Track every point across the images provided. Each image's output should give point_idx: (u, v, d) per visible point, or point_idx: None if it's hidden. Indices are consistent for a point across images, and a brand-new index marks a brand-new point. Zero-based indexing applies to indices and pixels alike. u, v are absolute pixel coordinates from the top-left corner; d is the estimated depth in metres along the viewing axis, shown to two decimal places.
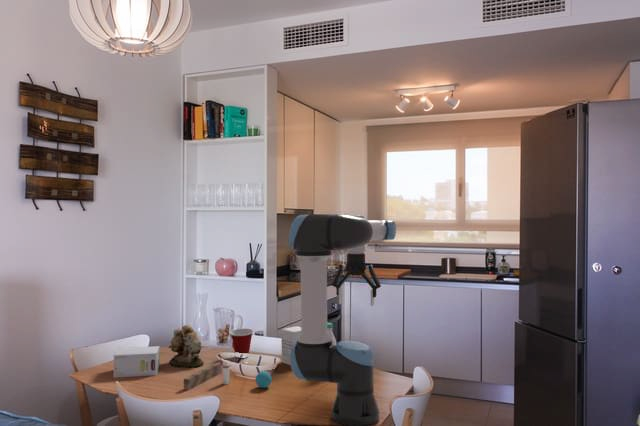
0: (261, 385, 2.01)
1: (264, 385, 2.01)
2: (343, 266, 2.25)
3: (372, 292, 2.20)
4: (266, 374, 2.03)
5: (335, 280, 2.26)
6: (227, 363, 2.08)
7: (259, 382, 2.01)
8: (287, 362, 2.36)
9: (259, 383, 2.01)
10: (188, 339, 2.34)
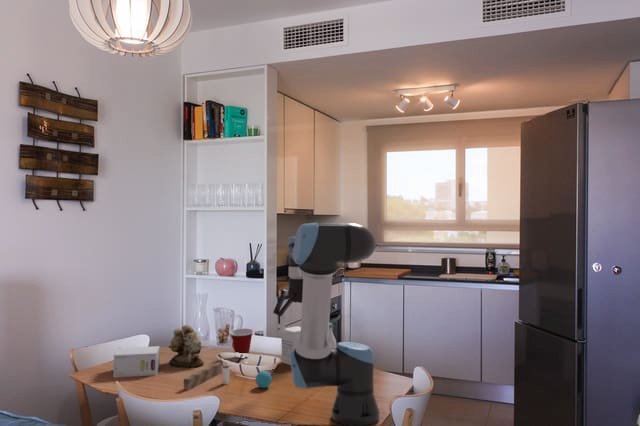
0: (261, 385, 2.01)
1: (264, 385, 2.01)
2: (285, 292, 2.06)
3: None
4: (266, 374, 2.03)
5: (276, 307, 2.07)
6: (227, 363, 2.08)
7: (259, 382, 2.01)
8: (287, 362, 2.36)
9: (259, 383, 2.01)
10: (188, 339, 2.34)
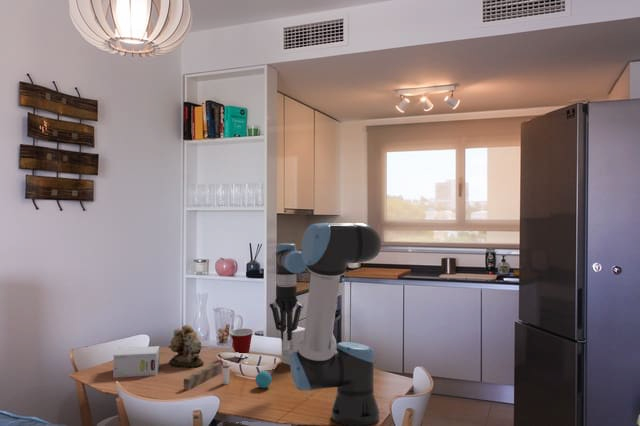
0: (261, 385, 2.01)
1: (264, 385, 2.01)
2: (273, 304, 2.02)
3: (287, 335, 2.00)
4: (266, 374, 2.03)
5: (276, 322, 2.01)
6: (227, 363, 2.08)
7: (259, 382, 2.01)
8: (287, 362, 2.36)
9: (259, 383, 2.01)
10: (188, 339, 2.34)
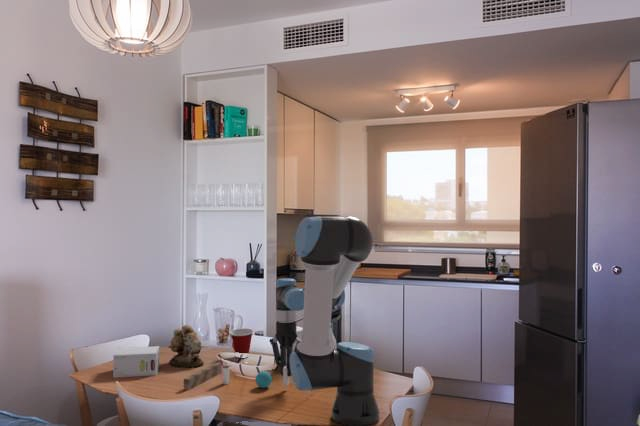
0: (261, 385, 2.01)
1: (264, 385, 2.01)
2: (273, 339, 2.02)
3: (287, 370, 2.00)
4: (266, 374, 2.03)
5: (276, 357, 2.01)
6: (227, 363, 2.08)
7: (259, 382, 2.01)
8: None
9: (259, 383, 2.01)
10: (188, 339, 2.34)
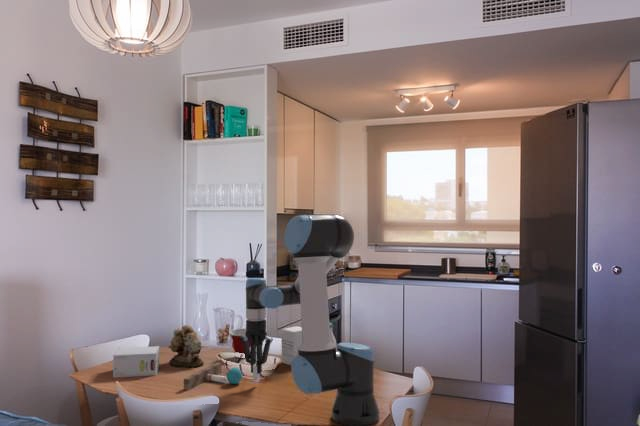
0: (228, 374, 2.07)
1: None
2: (244, 337, 2.06)
3: (256, 368, 2.04)
4: (234, 383, 2.08)
5: (246, 355, 2.05)
6: (208, 374, 2.13)
7: (230, 375, 2.06)
8: (287, 362, 2.36)
9: (230, 375, 2.06)
10: (188, 339, 2.34)
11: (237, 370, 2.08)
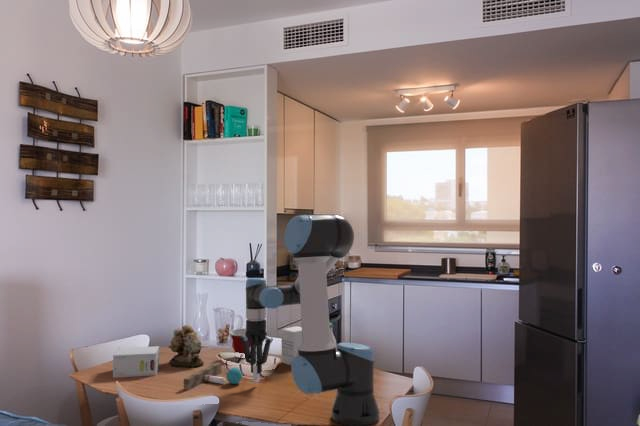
0: (228, 374, 2.07)
1: None
2: (244, 337, 2.06)
3: (256, 368, 2.04)
4: (234, 383, 2.08)
5: (246, 355, 2.05)
6: (205, 378, 2.11)
7: (230, 375, 2.06)
8: (287, 362, 2.36)
9: (230, 375, 2.06)
10: (188, 339, 2.34)
11: (237, 370, 2.08)
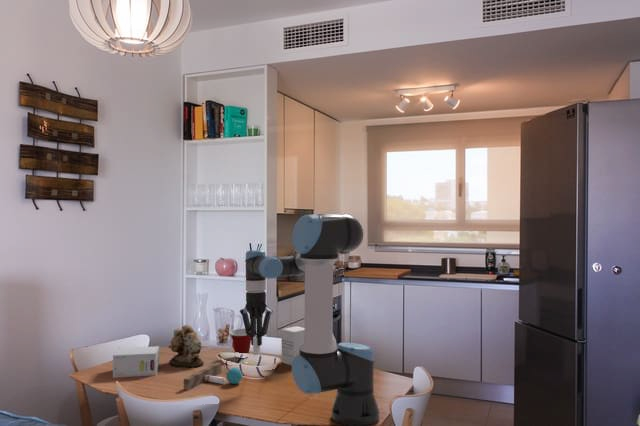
0: (228, 374, 2.07)
1: None
2: (244, 310, 2.06)
3: (256, 340, 2.04)
4: (234, 383, 2.08)
5: (246, 327, 2.05)
6: (205, 378, 2.11)
7: (230, 375, 2.06)
8: (287, 362, 2.36)
9: (230, 375, 2.06)
10: (188, 339, 2.34)
11: (237, 370, 2.08)
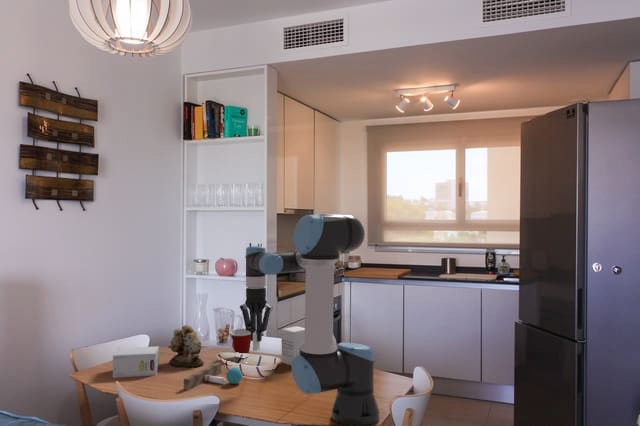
0: (228, 374, 2.07)
1: None
2: (244, 305, 2.06)
3: (256, 336, 2.04)
4: (234, 383, 2.08)
5: (246, 323, 2.05)
6: (205, 378, 2.11)
7: (230, 375, 2.06)
8: (287, 362, 2.36)
9: (230, 375, 2.06)
10: (188, 339, 2.34)
11: (237, 370, 2.08)
